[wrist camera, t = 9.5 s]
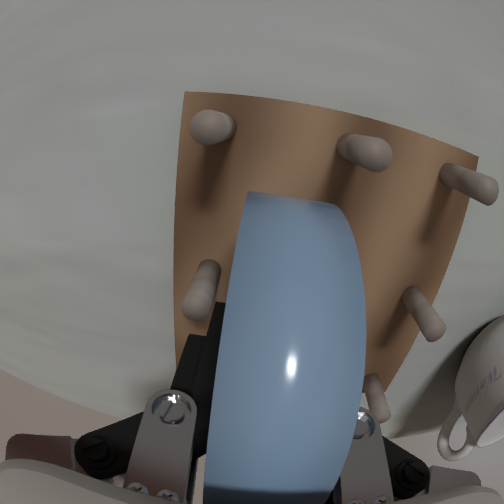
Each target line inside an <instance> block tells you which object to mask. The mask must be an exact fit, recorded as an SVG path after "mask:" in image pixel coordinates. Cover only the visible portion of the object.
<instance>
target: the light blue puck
mask: <svg viewBox="0 0 504 504" xmlns="http://www.w3.org/2000/svg"><path fill="white" fill-rule="evenodd" d="M365 356H366V306H365V292H364V284H363V276H362V269H361V263H360V258H359V254H358V250H357V246H356V242H355V238H354V236H353V233H352V230H351V228H350V225H349V223H348V220H347V219H346V217H345V215H344V214H343V212H342V211H341V210H340V209H339V208H338V207H337V206H336V205H335V204H332V203H328V202H322V201H316V200H310V199H304V198H297V197H291V196H284V195H277V194H270V193H263V192H256V191H248V192H247V195H246V199H245V203H244V207H243V212H242V216H241V221H240V226H239V231H238V236H237V241H236V247H235V252H234V258H233V264H232V269H231V275H230V281H229V287H228V293H227V300H226V306H225V312H224V319H223V325H222V332H221V339H220V346H219V353H218V360H217V367H216V375H215V383H214V390H213V398H212V406H211V415H210V424H209V433H208V442H207V452H206V463H205V475H204V489H203V504H324V503H325V502H326V501H327V499H328V497H329V496H330V494H331V492H332V490H333V488H334V486H335V484H336V483H337V481H338V479H339V476H340V474H341V471H342V468H343V466H344V463H345V461H346V458H347V455H348V452H349V449H350V446H351V442H352V438H353V434H354V431H355V427H356V422H357V418H358V414H359V408H360V401H361V395H362V388H363V381H364V372H365Z"/></svg>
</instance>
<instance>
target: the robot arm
mask: <svg viewBox="0 0 504 504" xmlns="http://www.w3.org/2000/svg"><path fill="white" fill-rule="evenodd" d="M225 306H226V303H223V302H217V301H216V302H215V305H214V309H213V312H212V316H211V320H210V323H209V327H208V331H207V334H206V336H202V335H196V334H189V335H188V337H187V340H186V343H185V346H184V349H183V352H182V355H181V358H180V361H179V364H178V367H177V370H176V373H175V376H174V379H173V382H172V385H171V388H170V390H163V391H160V392H157V393H155V394H154V395H153V396H152V397H150V398H149V400H148V402H147V404H146V407H145V410H144V412H141V413H139V414H136V415H134V416H131V417H129V418H126V419H124V420H121V421H119V422H117V423H114V424H111V425H108V426H106V427H103V428H100V429H98V430H95V431H92V432H89V433H87V434H85V435H83V436H81V437H80V438H79V439H72V438H71V436H49V435H34V434H16V435H14V436H12V437H11V438H10V439H9V440H8V442H7V446H6V456H5V457H6V458H5V461H3V462H1V463H0V504H192V503H193V495H194V487H195V479H196V471H197V463H198V458H199V457H201V456H202V455H204V454H206V452H207V442H208V433H209V424H210V415H211V406H212V398H213V390H214V383H215V375H216V367H217V360H218V353H219V346H220V339H221V332H222V325H223V319H224V312H225ZM324 504H504V499H503V498H502V496H501V495H500V494H499V493H498V492H497V491H495V490H494V489H491V488H488V487H483V486H481V480H480V479H479V477H478V476H477V475H476V474H475V473H473V472H470V471H462V470H456V469H450V468H444V467H438V466H431V467H430V468H429V467H427V465H426V464H425V463H424V462H423V461H422V460H420V459H418V458H417V457H415V456H414V455H412V454H410V453H409V452H407V451H405V450H404V449H402V448H401V447H399V446H398V445H396V444H394V443H393V442H391V441H390V440H388V439H387V438H385V437H384V436H382V433H381V428H380V424H379V421H378V419H377V417H376V416H375V415H374V414H373V413H372V412H370V411H369V410H367V409H365V408H362V407H360V408H359V414H358V418H357V422H356V427H355V431H354V434H353V438H352V442H351V446H350V449H349V452H348V455H347V458H346V461H345V463H344V466H343V468H342V471H341V474H340V476H339V479H338V481H337V483H336V484H335V486H334V488H333V490H332V492H331V494H330V496H329V497H328V499H327V501H326V502H325V503H324Z"/></svg>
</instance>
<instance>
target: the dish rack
mask: <svg viewBox="0 0 504 504" xmlns="http://www.w3.org/2000/svg"><path fill="white" fill-rule="evenodd" d="M478 158H479V157H478V156H475V155H473V154H471V153H469V152H466V151H464V150H461V149H459V148H457V147H454V146H452V145H449V144H447V143H444V142H441V141H439V140H436V139H433V138H431V137H428V136H425V135H422V134H419V133H416V132H413V131H410V130H407V129H404V128H401V127H398V126H395V125H391V124H388V123H384V122H381V121H377V120H374V119H370V118H366V117H362V116H359V115H354V114H350V113H346V112H342V111H337V110H333V109H328V108H323V107H318V106H313V105H308V104H302V103H297V102H291V101H284V100H277V99H270V98H263V97H254V96H245V95H235V94H223V93H208V92H185V93H184V101H183V110H182V119H181V129H180V140H179V152H178V165H177V180H176V198H175V221H174V328H175V351H176V369H177V367H178V364H179V361H180V358H181V355H182V352H183V349H184V346H185V343H186V340H187V337H188V335H189V334H196V335H202V336H206V334H207V331H208V327H209V323H210V320H211V316H212V312H213V309H214V305H215V302H216V301H217V302H223V303H226V300H227V293H228V287H229V281H230V275H231V269H232V264H233V258H234V252H235V247H236V241H237V236H238V231H239V226H240V221H241V216H242V212H243V207H244V203H245V199H246V195H247V192H248V191H256V192H263V193H270V194H277V195H284V196H291V197H297V198H304V199H310V200H316V201H322V202H328V203H332V204H335V205H336V206H337V207H338V208H339V209H340V210H341V211H342V212H343V214H344V215H345V217H346V219H347V220H348V223H349V225H350V228H351V230H352V233H353V236H354V238H355V242H356V246H357V250H358V254H359V258H360V263H361V269H362V276H363V284H364V292H365V306H366V356H365V372H364V381H363V388H362V393H365V394H366V398H367V402H368V406H369V409H370V412H372V413H373V414H374V415H375V416H376V417H377V419H378V421H379V423H383V422H385V421H387V420H388V419H389V418H390V417H391V414H390V410H389V407H388V404H387V401H386V398H385V395H384V392H385V391H386V389H387V388H388V386H389V385H390V383H391V381H392V380H393V378H394V376H395V375H396V373H397V371H398V370H399V368H400V366H401V364H402V363H403V361H404V359H405V357H406V356H407V354H408V352H409V350H410V348H411V346H412V344H413V343H414V341H415V339H416V337H417V335H418V333H419V331H420V330H421V332H422V333H423V335H424V337H425V338H426V340H427V341H428V342H434V341H437V340H438V339H440V338H441V337H442V336H443V335H444V333H445V331H446V325H445V323H444V322H443V321H442V319H441V318H440V316H439V315H438V314H437V312H436V311H435V309H434V308H433V307H432V303H433V301H434V299H435V297H436V294H437V292H438V290H439V287H440V285H441V282H442V280H443V277H444V275H445V272H446V270H447V267H448V265H449V262H450V259H451V256H452V254H453V251H454V248H455V245H456V242H457V239H458V236H459V233H460V230H461V227H462V223H463V220H464V217H465V213H466V210H467V206H468V202H469V198H470V197H471V198H473V199H475V200H477V201H479V202H481V203H483V204H485V205H487V206H489V205H492V204H493V203H494V202H495V201H496V199H497V197H498V192H499V188H498V183H497V181H496V180H495V179H494V178H492V177H489V176H486V175H484V174H481V173H478V172H476V168H477V163H478Z"/></svg>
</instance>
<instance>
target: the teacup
mask: <svg viewBox="0 0 504 504" xmlns="http://www.w3.org/2000/svg"><path fill="white" fill-rule="evenodd" d="M455 394H456V397H455V399H454V400H453V406H452V410H451V411H450V413H449V415H448V417H447V418H446V420H445V422H444V424H443V426H442V428H441V431H440V433H439V436H438V441H437V448H438V451H439V453H440V455H441V456H442V457H443V458H444V459H445V460H448V461H458V460H461V459H463V458H465V457H466V456H467V455H468V454H470V452H471V451H472V450H473V448H474V447H475V445H476V446H477V447H479V448H483V447H486V446H489V445H491V444H493V443H496V442H497V441H499V440H501V439H503V438H504V316H501V317H499V318H497V319H496V320H494V321H493V322H491V323H490V324H489V325H488V326H487V327H485V328H484V329H483V330H482V331H481V332H480V333H479V335H478V336H477V337H476V338H475V339H474V340H473V342H472V343H471V344H470V346H469V347H468V349H467V351H466V353H465V354H464V357H463V359H462V362H461V366H460V368H459V371H458V374H457V377H456V381H455ZM461 414H463V416H464V418H465V420H466V422H467V427H466V431H467V439H466V442H465V444H464V446H463V447H462V448H461V449H460V450H458V451H454V450H452V449H451V448H450V446H449V437H450V434H451V431H452V429H453V426H454V425H455V423H456V421H457V420H458V418H459V417H460V415H461Z"/></svg>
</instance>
